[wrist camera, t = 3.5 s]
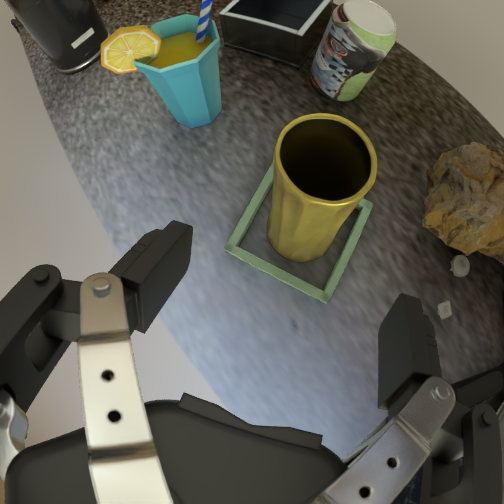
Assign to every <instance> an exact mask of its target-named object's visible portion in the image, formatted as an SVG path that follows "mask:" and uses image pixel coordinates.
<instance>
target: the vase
mask: <svg viewBox="0 0 504 504" xmlns="http://www.w3.org/2000/svg"><path fill="white" fill-rule="evenodd" d="M273 158H274V167H273V194H272V200H273V202H272V206H271V213H270V215H269V218H268V222H267V234H268V238H269V240H270V242H271V244H272V246H273V247H274V249H275V250H276V251H277V252H278V253H279V254H280V255H282V256H283V257H285V258H287V259H289V260H292V261H297V262H307V261H311V260H313V259H316V258H318V257H320V256H322V255H323V254H324V253H325V252H326V251H327V250H328V249H329V247H330V246H331V244H332V242H333V239H334V237H335V235H336V233H337V231H338V230H339V228H340V227H341V225H342V224H343V223H344V221H345V220H346V219H347V218H348V216H349V215H350V214H351V212H352V211H353V210H354V208H355V207H356V206H357V205H358V203H359V202H360V201H361V199H362V198H363V197H364V195H365V194H366V193H367V192H368V191H369V190H370V188H371V187H372V186H373V184H374V182H375V179H376V173H377V157H376V153H375V149H374V147H373V145H372V143H371V141H370V140H369V138H368V137H367V135H366V134H365V133H364V132H363V131H362V130H361V129H360V128H359V127H358V126H357V125H355V124H354V123H352V122H351V121H349V120H347V119H345V118H343V117H341V116H338V115H334V114H326V113H314V114H309V115H305V116H302V117H299V118H296V119H295V120H293V121H291V122H290V123H289V124H288V125H287V126H286V127H285V128H284V129H283V130H282V131H281V133H280V135H279V137H278V139H277V142H276V145H275V149H274V155H273Z"/></svg>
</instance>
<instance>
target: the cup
mask: <svg viewBox="0 0 504 504" xmlns="http://www.w3.org/2000/svg"><path fill="white" fill-rule="evenodd" d="M212 1H213V0H202V5H201V11H200V16H199V17H198V16H193V15H188V14H184V15H181V16H177V17H174V18H170V19H167V20H163V21H160V22H157V23H155V24H154V25H153V26H152V27H151V28H148V27H147V26H145V25H141V26H131V27H123V28H119V29H118V30H116V31H115V32H114V33H113V34H112V35H110V36H109V37H108V38H107V39H106V40H105V41H104V42H102V43H101V66H103V67H105V68H107V69H109V70H111V71H113V72H114V73H116V74H122V73H128V72H135V71H141V72H144V74H145V75H146V77H147V78H148V80H149V81H150V82H151V84H152V85H153V87H154V88H155V90H156V91H157V93H158V94H159V96H160V97H161V99H162V100H163V101H164V103H165V104H166V106H167V107H168V109H169V110H170V112H171V113H172V115H173V116H174V118H175V119H176V121H177V122H179V123H181V124H184V125H186V126H188V127H190V128H196V127H199V126H203V125H207V124H211V123H212V122H213V120H214V119H215V118H216V117H217V115H218V114H219V113H220V112H221V110H222V103H221V90H220V78H219V65H218V52H217V50H218V49H219V48H220V38H219V34H218V31H217V28H216V25H215V22H214V20H211V19H209V16H210V11H211V6H212Z"/></svg>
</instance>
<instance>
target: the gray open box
mask: <svg viewBox="0 0 504 504" xmlns="http://www.w3.org/2000/svg"><path fill="white" fill-rule="evenodd" d="M332 4H333V0H233V1H232V2H231V3H230V4H229V5H228V6H227V7H225V8H224V9H223V10H222V11H221V12H220V13H219V18H220V24H221V29H222V35H223V41H224V46H225V47H228V48H232V49H235V50H239V51H242V52H246V53H249V54H252V55H255V56H259V57H262V58H265V59H268V60H271V61H274V62H277V63H280V64H283V65H286V66H288V67H291V68H294V69H297V70H299V69H300V68H301V66H302V65H303V64H304V62H305V61H306V59H307V58H308V56H309V55H310V53H311V52H312V51H313V49H314V48H315V46H316V45H317V43H318V42H319V41H320V39H321V38H322V36H323V35H324V33H325V30H326V28H327V26H328V23H329V21H330V16H331V10H332Z"/></svg>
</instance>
